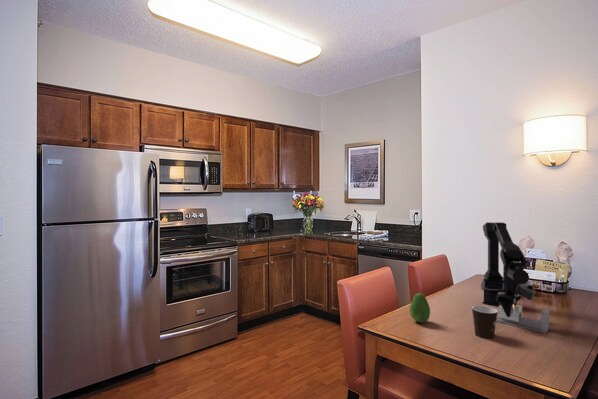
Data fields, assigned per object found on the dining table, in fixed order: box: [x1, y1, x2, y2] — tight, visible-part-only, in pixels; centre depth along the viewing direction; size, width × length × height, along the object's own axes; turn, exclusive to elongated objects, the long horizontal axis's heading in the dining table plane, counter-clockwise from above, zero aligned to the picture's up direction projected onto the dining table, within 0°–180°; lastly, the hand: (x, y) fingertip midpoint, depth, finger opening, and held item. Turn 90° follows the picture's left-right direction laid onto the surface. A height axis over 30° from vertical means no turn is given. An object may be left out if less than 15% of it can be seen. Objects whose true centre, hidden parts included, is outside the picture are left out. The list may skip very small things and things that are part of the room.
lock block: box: [498, 304, 523, 322], centre depth 146 cm, size 7×6×6 cm
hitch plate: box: [496, 307, 551, 334], centre depth 143 cm, size 18×8×9 cm, turn 46°
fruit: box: [409, 292, 431, 324], centre depth 145 cm, size 8×8×12 cm
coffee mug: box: [471, 305, 499, 340], centre depth 133 cm, size 12×9×10 cm
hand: (510, 314), depth 146 cm, fingers closed on lock block, 6 cm apart
